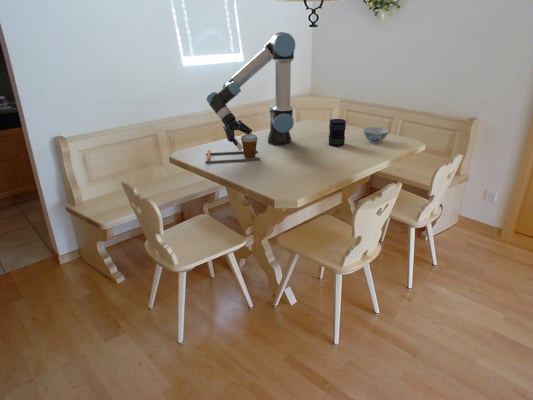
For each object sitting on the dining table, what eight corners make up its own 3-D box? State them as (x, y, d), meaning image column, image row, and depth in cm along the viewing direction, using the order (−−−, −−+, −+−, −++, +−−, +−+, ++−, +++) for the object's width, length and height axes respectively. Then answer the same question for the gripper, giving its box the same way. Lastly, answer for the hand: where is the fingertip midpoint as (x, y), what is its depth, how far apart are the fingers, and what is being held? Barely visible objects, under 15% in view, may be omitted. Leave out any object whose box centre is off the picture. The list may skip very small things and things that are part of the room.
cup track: (257, 152, 233) (257, 147, 232) (259, 160, 219) (259, 155, 218) (206, 154, 230) (206, 149, 229) (205, 163, 217) (205, 158, 215)
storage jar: (327, 146, 242) (328, 122, 235) (329, 141, 250) (330, 118, 244) (343, 147, 239) (345, 123, 233) (345, 142, 248) (347, 119, 241)
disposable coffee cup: (256, 159, 221) (255, 139, 216) (239, 159, 223) (238, 138, 217) (259, 154, 229) (259, 134, 224) (243, 153, 231) (243, 133, 226)
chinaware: (381, 147, 238) (382, 134, 235) (358, 143, 247) (359, 130, 243) (390, 141, 249) (392, 129, 246) (368, 137, 257) (369, 125, 254)
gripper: (236, 116, 236) (257, 144, 235) (208, 125, 217) (231, 155, 216) (243, 108, 231) (264, 137, 230) (215, 116, 212) (238, 148, 211)
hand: (248, 146), depth 223 cm, fingers open, 13 cm apart
